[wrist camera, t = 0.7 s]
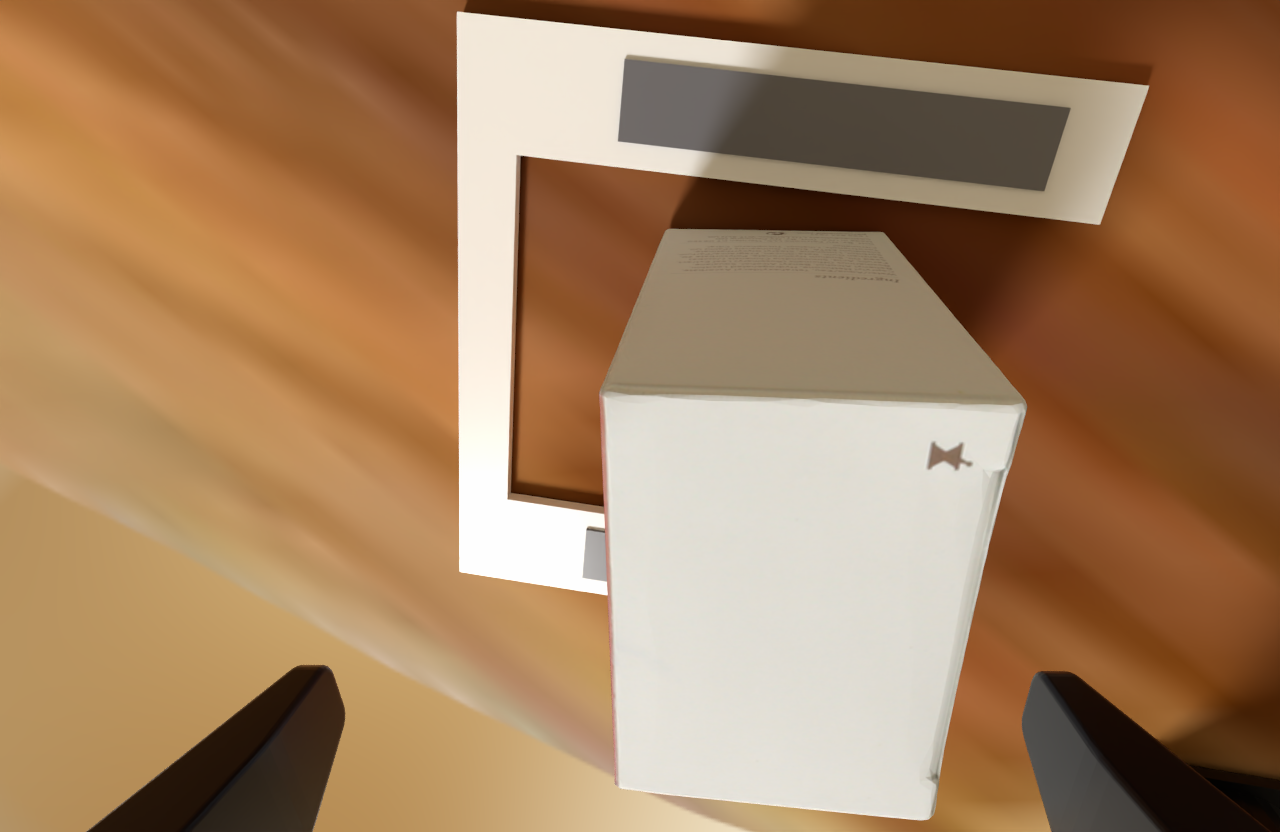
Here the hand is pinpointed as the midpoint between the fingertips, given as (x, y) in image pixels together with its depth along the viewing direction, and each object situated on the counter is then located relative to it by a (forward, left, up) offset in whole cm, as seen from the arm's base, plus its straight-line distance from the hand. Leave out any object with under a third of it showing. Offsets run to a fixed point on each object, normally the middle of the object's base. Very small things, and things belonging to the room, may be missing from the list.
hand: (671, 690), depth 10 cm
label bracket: (-2, 0, -12) cm, 12 cm away
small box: (-2, 0, -12) cm, 13 cm away
